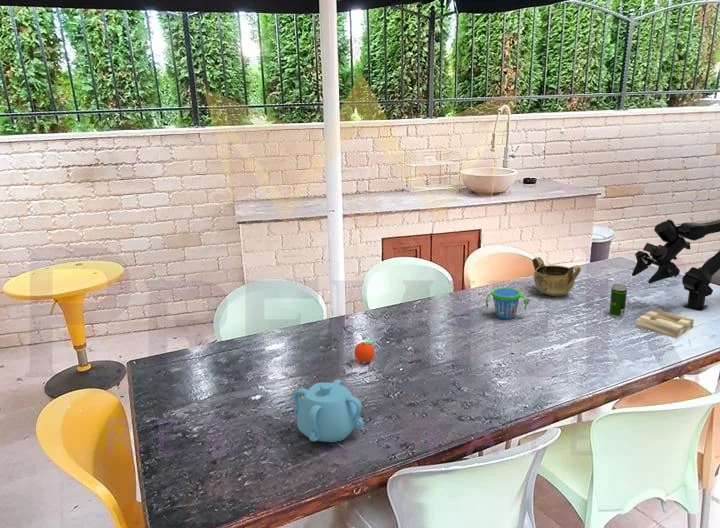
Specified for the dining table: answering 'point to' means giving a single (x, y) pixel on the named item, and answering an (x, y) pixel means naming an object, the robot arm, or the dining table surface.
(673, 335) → the birch tray
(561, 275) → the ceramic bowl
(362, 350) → the clementine
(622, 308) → the beer can
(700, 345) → the dining table surface
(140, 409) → the dining table surface
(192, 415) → the dining table surface
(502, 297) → the snack cup
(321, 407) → the decorative pot
